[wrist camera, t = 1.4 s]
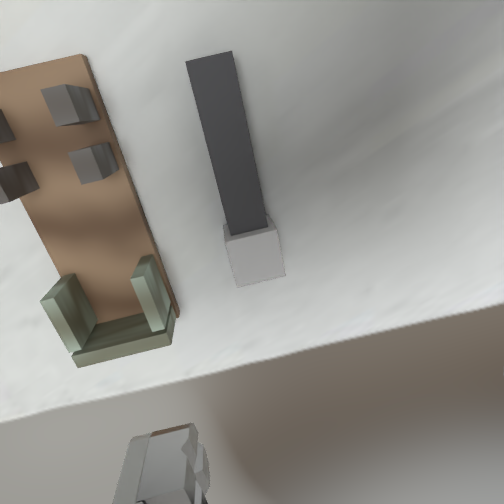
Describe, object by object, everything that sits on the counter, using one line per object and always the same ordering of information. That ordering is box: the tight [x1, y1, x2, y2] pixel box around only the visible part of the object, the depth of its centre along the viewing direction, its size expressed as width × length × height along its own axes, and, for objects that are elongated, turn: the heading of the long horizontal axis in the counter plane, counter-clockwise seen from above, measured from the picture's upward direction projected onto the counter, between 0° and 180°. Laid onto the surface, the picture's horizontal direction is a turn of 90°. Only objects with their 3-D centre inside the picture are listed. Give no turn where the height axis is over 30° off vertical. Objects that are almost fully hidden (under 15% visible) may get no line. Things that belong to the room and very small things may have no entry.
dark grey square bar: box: [186, 51, 286, 288], centre depth 25 cm, size 16×4×4 cm, turn 12°
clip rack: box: [0, 54, 180, 368], centre depth 24 cm, size 21×8×5 cm, turn 12°
